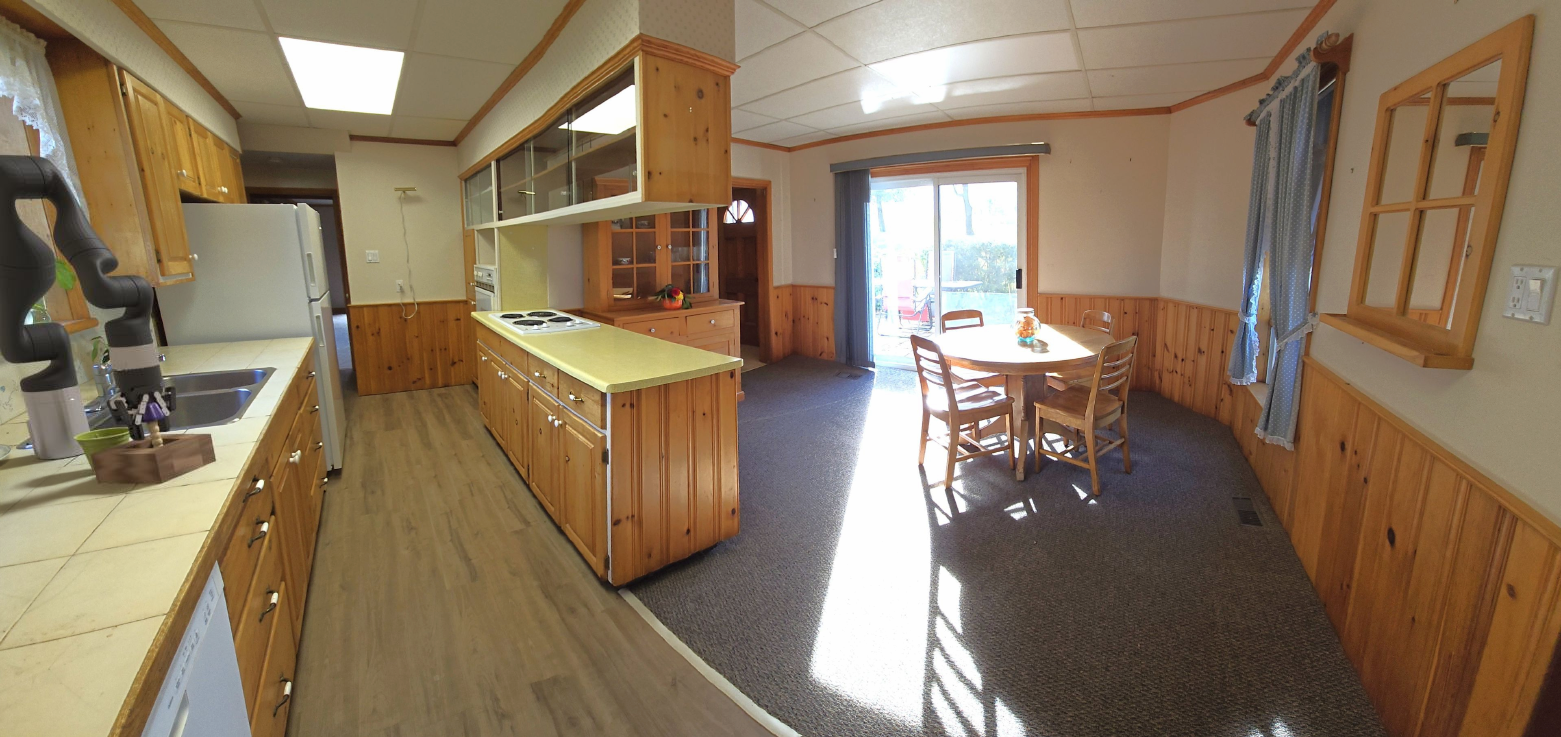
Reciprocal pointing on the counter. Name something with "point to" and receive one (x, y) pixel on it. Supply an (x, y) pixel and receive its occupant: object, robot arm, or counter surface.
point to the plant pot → (101, 440)
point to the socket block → (153, 459)
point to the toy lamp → (153, 422)
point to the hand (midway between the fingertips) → (151, 435)
